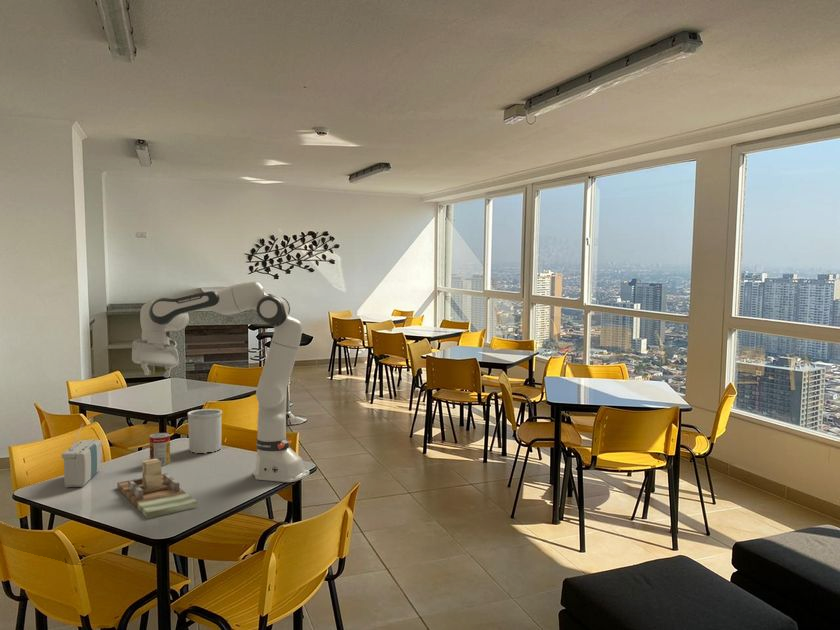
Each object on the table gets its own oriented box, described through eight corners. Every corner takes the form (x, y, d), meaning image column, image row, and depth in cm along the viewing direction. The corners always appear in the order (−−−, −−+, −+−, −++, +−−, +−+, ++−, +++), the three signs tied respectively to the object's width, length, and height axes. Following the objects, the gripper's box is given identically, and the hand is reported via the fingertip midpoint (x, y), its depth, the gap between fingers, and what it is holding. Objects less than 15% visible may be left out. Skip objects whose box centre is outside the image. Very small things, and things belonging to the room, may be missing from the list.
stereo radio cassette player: (85, 488, 223) (84, 434, 222) (61, 489, 221) (59, 435, 220) (103, 470, 243) (102, 421, 242) (80, 471, 242) (80, 422, 241)
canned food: (168, 459, 259) (167, 432, 259) (171, 464, 253) (171, 436, 252) (148, 462, 255) (148, 434, 254) (151, 467, 249) (151, 438, 248)
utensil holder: (184, 448, 277) (183, 410, 276) (216, 443, 285) (216, 407, 284) (192, 456, 265) (192, 416, 264) (226, 451, 273) (226, 412, 272)
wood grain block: (137, 487, 218) (136, 460, 217) (160, 482, 223) (159, 456, 223) (143, 493, 212) (143, 466, 211) (167, 488, 217) (166, 461, 216)
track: (117, 487, 223) (117, 474, 223) (162, 479, 234) (162, 466, 234) (147, 518, 195) (147, 503, 195) (197, 507, 206) (196, 492, 205)
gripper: (138, 335, 226) (141, 371, 222) (180, 343, 245) (183, 376, 241) (126, 340, 228) (129, 375, 225) (168, 347, 247) (171, 380, 243)
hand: (157, 376), depth 233 cm, fingers open, 8 cm apart
